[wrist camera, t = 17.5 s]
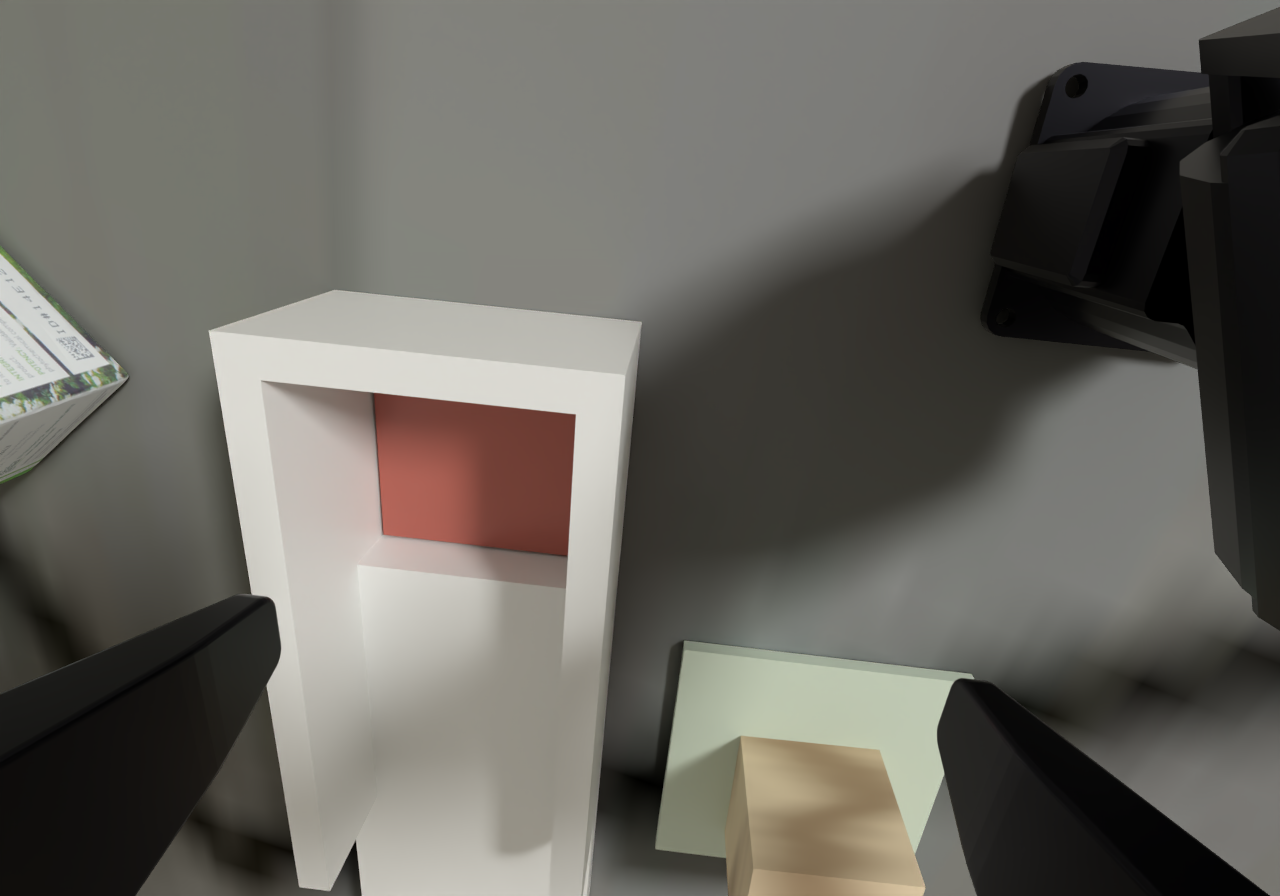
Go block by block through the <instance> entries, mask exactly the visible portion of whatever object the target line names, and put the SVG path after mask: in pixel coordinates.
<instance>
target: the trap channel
mask: <svg viewBox="0 0 1280 896" xmlns="http://www.w3.org/2000/svg"><path fill="white" fill-rule="evenodd" d="M641 326H642V322H639V321H629V320H620V319H610V318H600V317H591V316H581V315H571V314H562V313H552V312H543V311H533V310H523V309H514V308H504V307H495V306H485V305H475V304H466V303H456V302H447V301H437V300H427V299H418V298H408V297H399V296H389V295H379V294H370V293H360V292H351V291H341V290H333V291H330V292H327V293H324V294H321V295H317V296H314V297H311V298H308V299H305V300H302V301H299V302H296V303H293V304H290V305H287V306H284V307H280V308H277V309H274V310H271V311H268V312H265V313H262V314H259V315H256V316H253V317H250V318H247V319H243V320H240V321H237V322H234V323H231V324H228V325H225V326H222V327H219V328H216V329H213V330H210V331H209V334H210V341H211V347H212V353H213V359H214V365H215V371H216V377H217V384H218V390H219V396H220V402H221V408H222V414H223V421H224V427H225V433H226V439H227V445H228V451H229V457H230V464H231V470H232V476H233V482H234V488H235V494H236V501H237V507H238V513H239V519H240V525H241V531H242V537H243V544H244V550H245V556H246V562H247V568H248V574H249V580H250V587H251V593H252V595H259V596H267V597H269V598H271V599H272V600H273V602H274V603H275V607H276V612H277V619H278V626H279V633H280V640H281V655H280V659H279V662H278V664H277V667H276V669H275V670H274V672H273V674H272V676H271V678H270V680H269V681H268V683H267V691H268V697H269V704H270V710H271V716H272V722H273V728H274V734H275V740H276V747H277V753H278V759H279V765H280V771H281V777H282V783H283V790H284V796H285V802H286V808H287V814H288V820H289V827H290V833H291V839H292V845H293V851H294V857H295V863H296V870H297V876H298V882H299V887H302V888H310V889H317V890H325V891H330V890H331V888H332V886H333V884H334V882H335V880H336V878H337V876H338V874H339V872H340V870H341V868H342V866H343V864H344V862H345V860H346V858H347V856H348V854H349V852H350V850H351V848H352V846H353V844H354V842H355V840H356V846H357V855H358V864H359V873H360V882H361V892H362V896H589V892H590V881H591V870H592V859H593V848H594V837H595V826H596V815H597V805H598V794H599V783H600V772H601V761H602V750H603V739H604V728H605V718H606V707H607V696H608V685H609V674H610V663H611V652H612V641H613V631H614V620H615V609H616V598H617V587H618V576H619V565H620V554H621V544H622V533H623V522H624V511H625V500H626V489H627V478H628V467H629V457H630V446H631V435H632V424H633V413H634V402H635V391H636V380H637V370H638V359H639V348H640V337H641Z"/></svg>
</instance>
